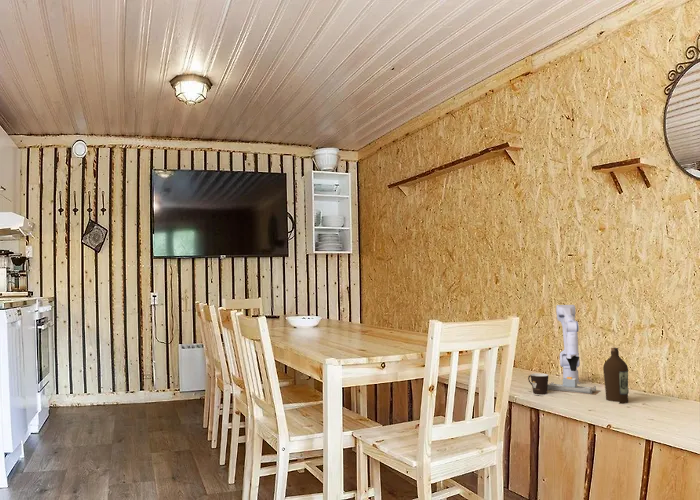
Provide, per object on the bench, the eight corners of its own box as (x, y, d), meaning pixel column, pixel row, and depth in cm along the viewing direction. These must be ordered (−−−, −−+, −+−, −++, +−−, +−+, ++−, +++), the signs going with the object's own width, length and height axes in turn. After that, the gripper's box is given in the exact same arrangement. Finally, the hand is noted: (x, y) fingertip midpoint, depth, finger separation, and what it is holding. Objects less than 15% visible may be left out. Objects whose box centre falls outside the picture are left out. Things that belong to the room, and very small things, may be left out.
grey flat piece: (552, 386, 298) (551, 382, 298) (596, 390, 285) (595, 386, 285) (546, 389, 291) (546, 384, 291) (591, 394, 278) (591, 389, 278)
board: (549, 387, 300) (548, 386, 300) (600, 392, 284) (600, 390, 284) (542, 391, 291) (542, 389, 291) (595, 396, 276) (595, 394, 276)
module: (565, 387, 291) (564, 376, 291) (577, 388, 287) (576, 377, 287) (563, 388, 287) (562, 377, 288) (575, 389, 284) (574, 378, 284)
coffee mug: (551, 396, 278) (550, 376, 279) (534, 396, 278) (533, 376, 279) (544, 391, 290) (543, 372, 290) (527, 392, 290) (526, 372, 291)
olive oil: (600, 401, 266) (597, 348, 267) (613, 397, 272) (610, 346, 273) (621, 405, 257) (618, 350, 258) (634, 401, 263) (631, 348, 264)
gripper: (568, 342, 302) (569, 368, 301) (560, 345, 290) (561, 372, 289) (582, 343, 297) (583, 369, 297) (574, 346, 286) (575, 373, 285)
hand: (573, 370), depth 293 cm, fingers closed
